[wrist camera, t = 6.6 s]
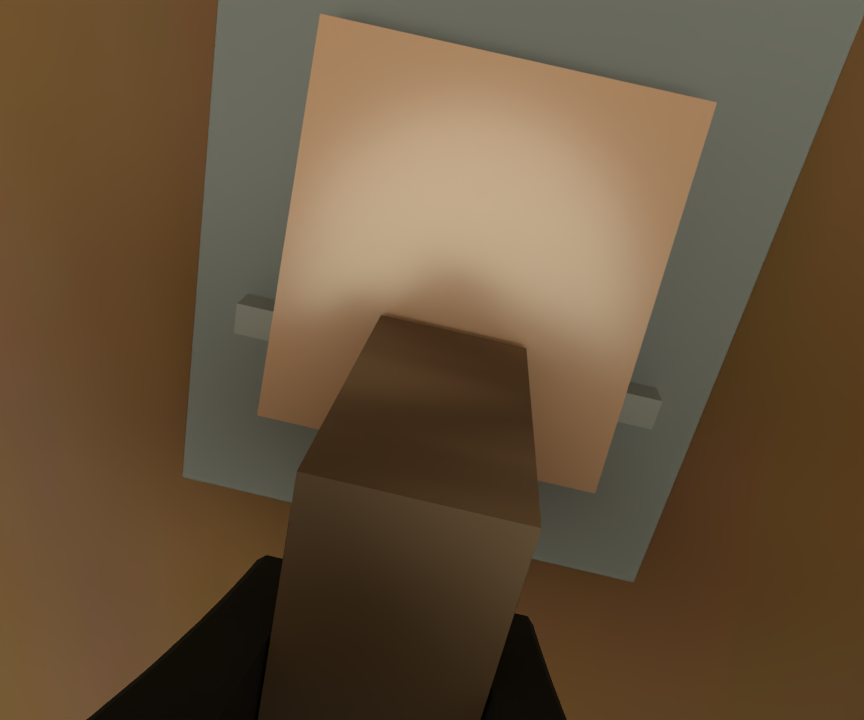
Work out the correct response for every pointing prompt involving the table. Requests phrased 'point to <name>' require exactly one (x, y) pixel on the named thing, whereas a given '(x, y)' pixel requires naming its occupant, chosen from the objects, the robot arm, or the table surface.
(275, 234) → the mat
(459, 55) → the tile
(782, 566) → the table surface
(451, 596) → the bar
